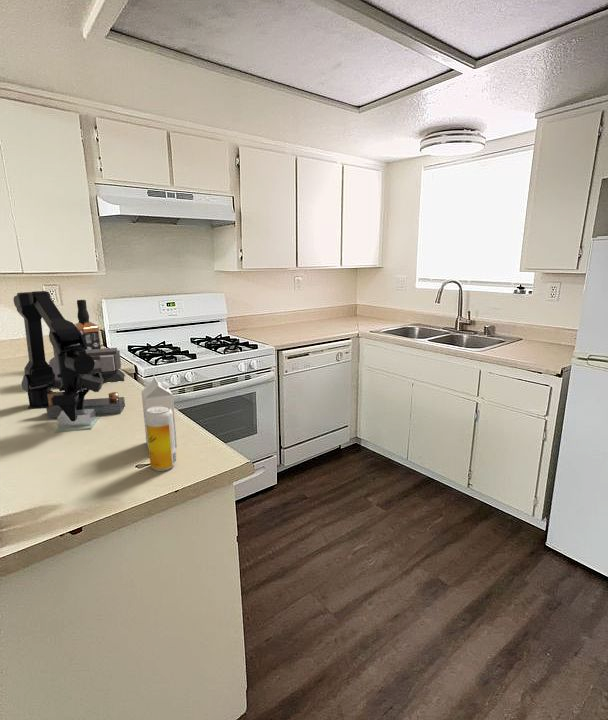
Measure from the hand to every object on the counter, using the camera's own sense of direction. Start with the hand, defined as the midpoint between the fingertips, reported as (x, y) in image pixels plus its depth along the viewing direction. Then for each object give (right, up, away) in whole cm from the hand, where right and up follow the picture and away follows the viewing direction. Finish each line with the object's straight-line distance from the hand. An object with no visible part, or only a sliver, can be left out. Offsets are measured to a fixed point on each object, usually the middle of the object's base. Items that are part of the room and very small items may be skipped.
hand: (76, 417), depth 127 cm
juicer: (-22, +8, +46) cm, 52 cm away
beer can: (+35, -9, -25) cm, 44 cm away
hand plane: (-2, 0, +11) cm, 11 cm away
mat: (0, -2, +1) cm, 2 cm away
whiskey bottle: (-31, +14, +68) cm, 76 cm away
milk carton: (+31, -6, -13) cm, 34 cm away
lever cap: (0, -2, +1) cm, 2 cm away
